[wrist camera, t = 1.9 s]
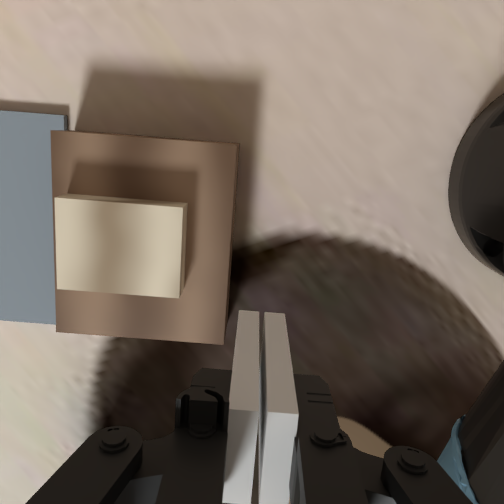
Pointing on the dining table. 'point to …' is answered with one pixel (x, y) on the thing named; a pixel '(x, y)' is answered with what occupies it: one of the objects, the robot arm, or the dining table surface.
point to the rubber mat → (27, 217)
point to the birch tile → (120, 245)
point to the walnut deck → (160, 189)
